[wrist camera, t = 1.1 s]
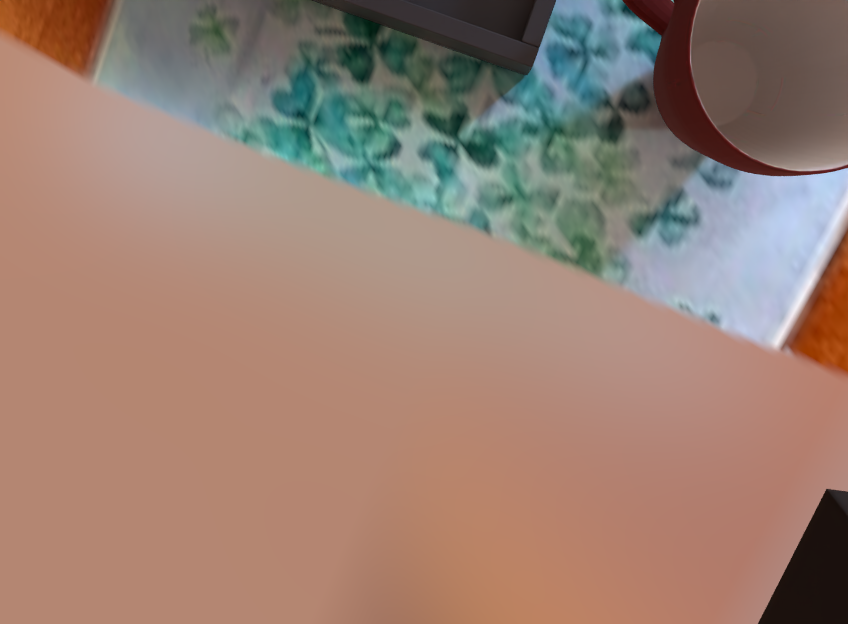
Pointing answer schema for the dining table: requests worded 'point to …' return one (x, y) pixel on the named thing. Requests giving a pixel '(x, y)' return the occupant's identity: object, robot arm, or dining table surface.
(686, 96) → the mug
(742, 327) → the dining table surface
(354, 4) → the tray
